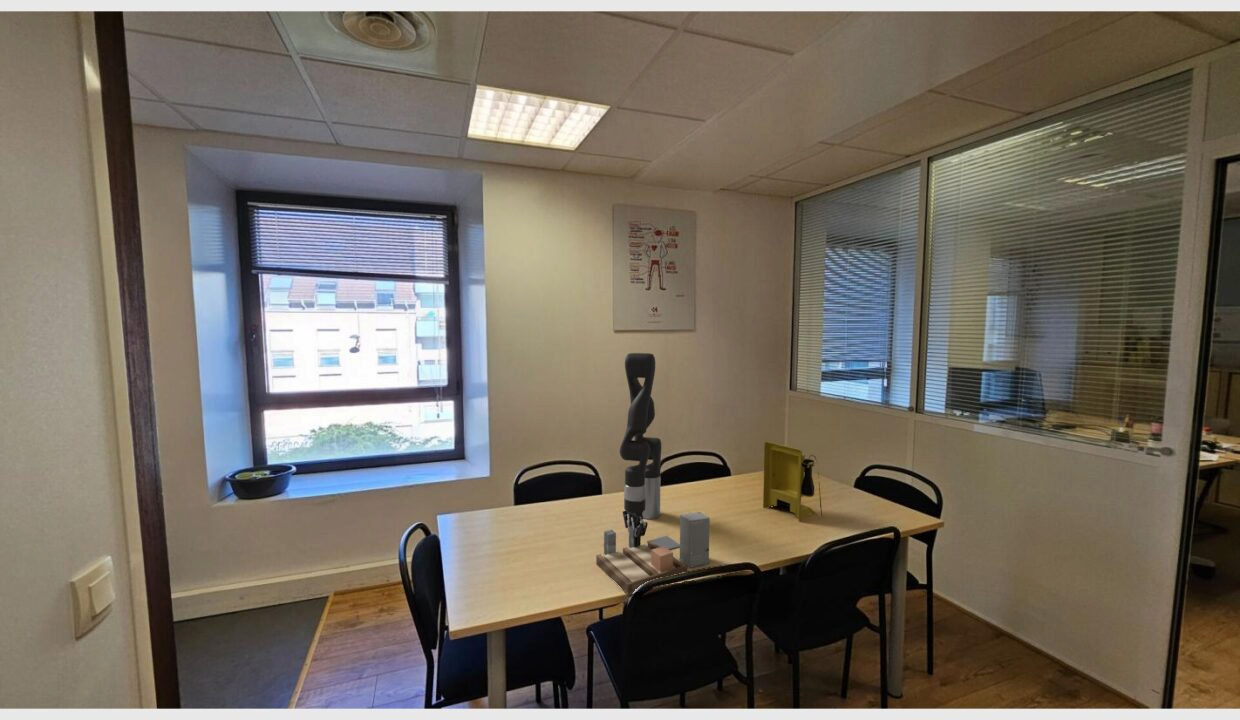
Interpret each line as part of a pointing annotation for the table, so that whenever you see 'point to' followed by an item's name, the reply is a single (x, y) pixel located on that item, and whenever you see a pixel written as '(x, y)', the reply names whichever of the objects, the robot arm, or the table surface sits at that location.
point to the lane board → (631, 586)
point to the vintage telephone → (787, 478)
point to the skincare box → (694, 539)
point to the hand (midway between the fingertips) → (634, 543)
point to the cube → (662, 558)
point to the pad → (665, 542)
